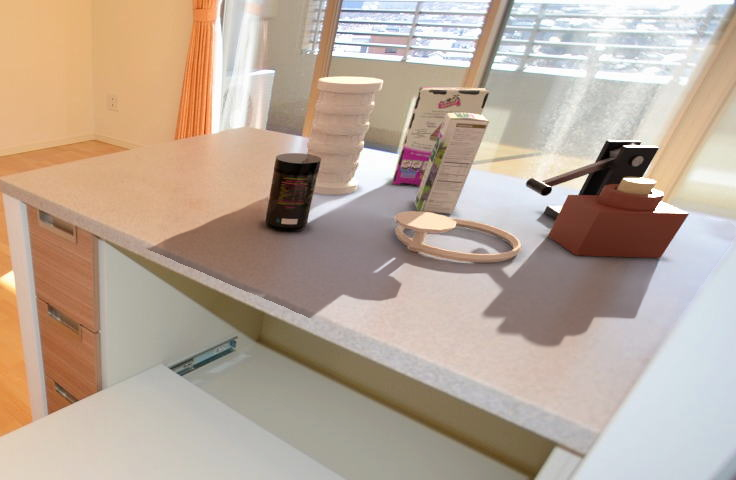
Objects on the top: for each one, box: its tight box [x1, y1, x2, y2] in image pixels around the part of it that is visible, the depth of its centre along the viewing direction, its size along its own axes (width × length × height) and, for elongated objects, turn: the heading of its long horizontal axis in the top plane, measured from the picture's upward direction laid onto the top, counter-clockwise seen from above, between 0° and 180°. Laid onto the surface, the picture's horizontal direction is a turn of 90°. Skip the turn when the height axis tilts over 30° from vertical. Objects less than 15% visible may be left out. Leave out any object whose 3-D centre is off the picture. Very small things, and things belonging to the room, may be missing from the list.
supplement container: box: [264, 152, 321, 233], centre depth 86 cm, size 7×7×10 cm
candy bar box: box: [392, 86, 490, 188], centre depth 102 cm, size 11×5×16 cm, turn 67°
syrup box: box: [414, 113, 490, 215], centre depth 91 cm, size 6×6×14 cm
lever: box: [525, 143, 639, 197], centre depth 84 cm, size 13×5×2 cm, turn 81°
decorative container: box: [306, 75, 384, 196], centre depth 102 cm, size 12×12×18 cm
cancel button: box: [617, 177, 657, 195], centre depth 75 cm, size 4×4×2 cm
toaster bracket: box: [543, 139, 660, 221], centre depth 84 cm, size 9×10×12 cm
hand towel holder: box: [394, 210, 522, 263], centre depth 80 cm, size 17×4×21 cm
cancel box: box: [547, 184, 690, 259], centre depth 77 cm, size 11×8×8 cm
